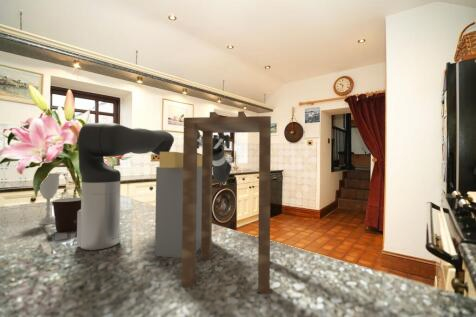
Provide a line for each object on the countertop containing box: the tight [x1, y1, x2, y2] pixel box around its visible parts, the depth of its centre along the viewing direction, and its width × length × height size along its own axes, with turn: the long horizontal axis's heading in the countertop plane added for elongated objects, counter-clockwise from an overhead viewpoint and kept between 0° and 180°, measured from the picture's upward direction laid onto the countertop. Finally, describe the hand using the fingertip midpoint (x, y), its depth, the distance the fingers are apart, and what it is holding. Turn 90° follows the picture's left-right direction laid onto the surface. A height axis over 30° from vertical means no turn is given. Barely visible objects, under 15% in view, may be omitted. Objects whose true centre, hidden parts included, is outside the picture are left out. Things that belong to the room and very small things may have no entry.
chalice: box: [38, 172, 61, 226], centre depth 85 cm, size 7×7×18 cm
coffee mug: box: [52, 197, 81, 234], centre depth 78 cm, size 12×9×10 cm
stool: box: [181, 110, 272, 295], centre depth 48 cm, size 16×14×32 cm
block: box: [154, 166, 202, 259], centre depth 62 cm, size 9×14×22 cm, turn 172°
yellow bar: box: [158, 151, 202, 168], centre depth 62 cm, size 4×22×4 cm, turn 173°
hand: (207, 130), depth 85 cm, fingers open, 8 cm apart
